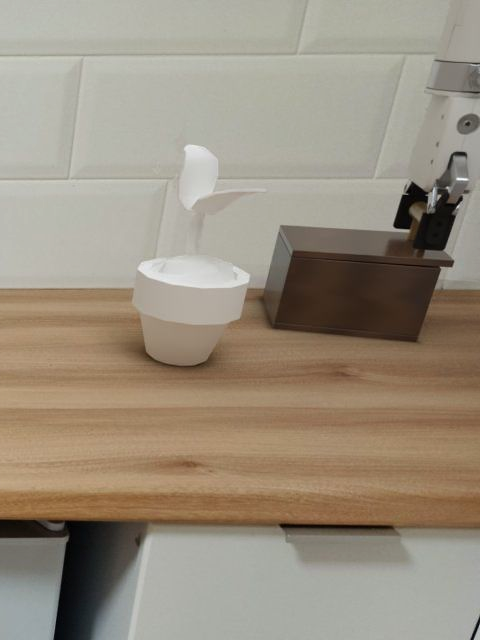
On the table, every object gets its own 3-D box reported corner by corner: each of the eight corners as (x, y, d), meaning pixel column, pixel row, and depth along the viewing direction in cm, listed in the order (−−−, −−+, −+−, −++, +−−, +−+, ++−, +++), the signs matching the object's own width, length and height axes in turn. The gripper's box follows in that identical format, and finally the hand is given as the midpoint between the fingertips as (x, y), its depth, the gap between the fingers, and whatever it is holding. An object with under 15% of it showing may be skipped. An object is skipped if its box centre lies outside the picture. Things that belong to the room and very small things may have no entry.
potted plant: (101, 345, 103) (137, 114, 90) (184, 334, 106) (230, 109, 94) (172, 387, 93) (224, 132, 80) (261, 372, 96) (324, 126, 84)
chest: (392, 309, 114) (414, 241, 110) (416, 342, 104) (441, 268, 100) (262, 297, 118) (278, 231, 114) (272, 329, 108) (291, 257, 104)
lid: (423, 240, 110) (437, 196, 107) (452, 267, 99) (468, 220, 97) (278, 231, 114) (288, 189, 112) (291, 256, 104) (302, 211, 101)
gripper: (536, 89, 88) (475, 261, 96) (482, 73, 102) (433, 224, 111) (451, 87, 90) (398, 255, 98) (410, 72, 104) (366, 219, 113)
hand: (417, 238), depth 104 cm, fingers open, 9 cm apart
